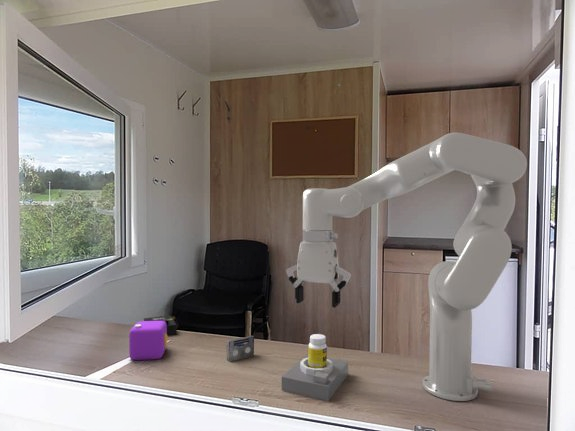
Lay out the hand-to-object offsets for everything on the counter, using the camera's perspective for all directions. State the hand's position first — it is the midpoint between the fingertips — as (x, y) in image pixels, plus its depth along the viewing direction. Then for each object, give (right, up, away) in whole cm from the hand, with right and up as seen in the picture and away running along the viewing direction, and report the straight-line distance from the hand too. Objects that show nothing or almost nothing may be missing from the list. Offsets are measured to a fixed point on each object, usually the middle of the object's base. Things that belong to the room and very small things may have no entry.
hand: (317, 304), depth 99 cm
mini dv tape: (-21, -20, +16) cm, 34 cm away
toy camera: (-50, -20, +20) cm, 57 cm away
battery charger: (-53, -20, +40) cm, 70 cm away
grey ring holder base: (0, -20, 0) cm, 20 cm away
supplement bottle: (0, -17, 0) cm, 17 cm away
